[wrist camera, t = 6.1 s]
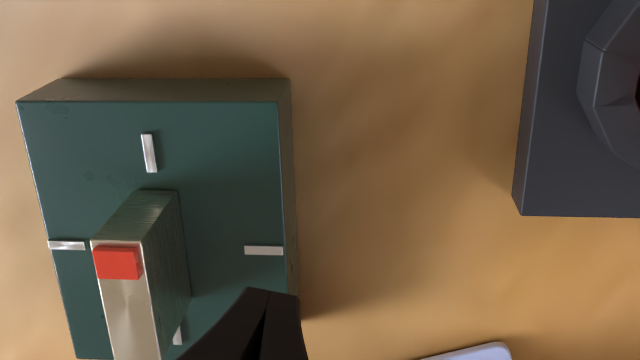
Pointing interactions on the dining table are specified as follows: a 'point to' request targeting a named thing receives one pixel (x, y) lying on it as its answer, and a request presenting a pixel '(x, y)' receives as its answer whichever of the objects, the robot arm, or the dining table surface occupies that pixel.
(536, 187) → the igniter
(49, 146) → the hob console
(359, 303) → the dining table surface
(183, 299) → the hob knob
